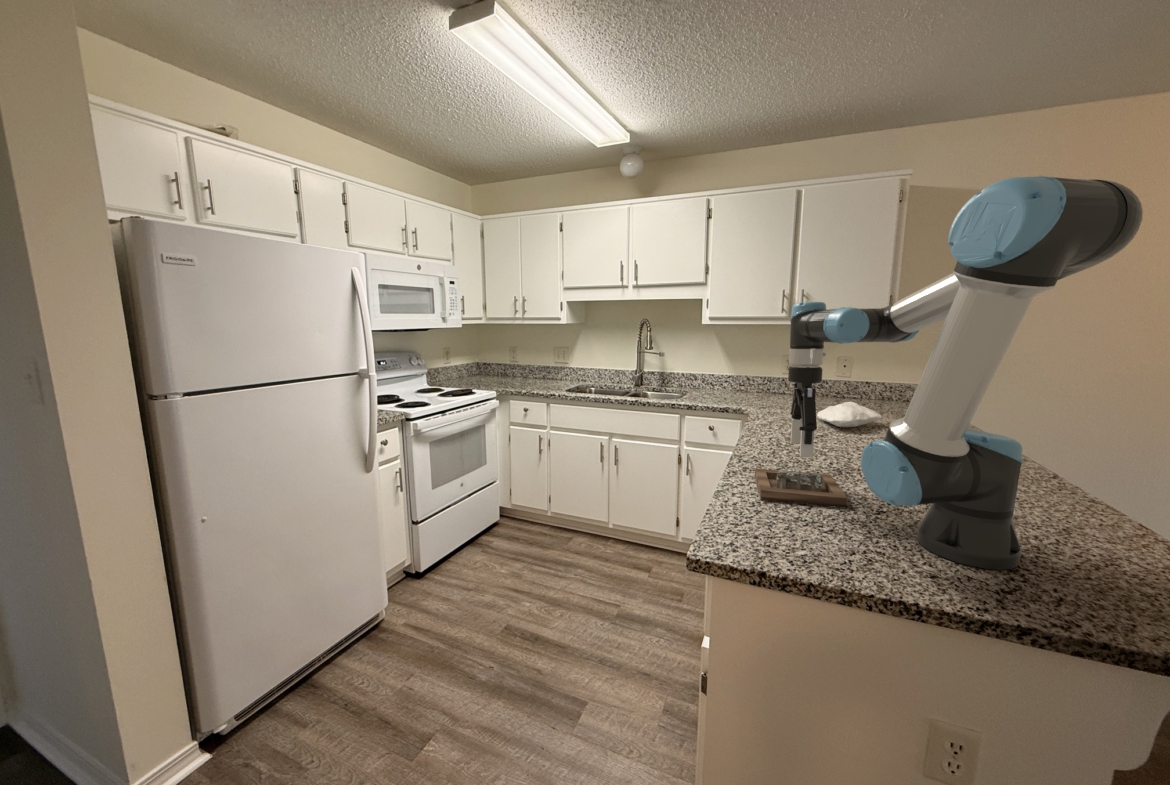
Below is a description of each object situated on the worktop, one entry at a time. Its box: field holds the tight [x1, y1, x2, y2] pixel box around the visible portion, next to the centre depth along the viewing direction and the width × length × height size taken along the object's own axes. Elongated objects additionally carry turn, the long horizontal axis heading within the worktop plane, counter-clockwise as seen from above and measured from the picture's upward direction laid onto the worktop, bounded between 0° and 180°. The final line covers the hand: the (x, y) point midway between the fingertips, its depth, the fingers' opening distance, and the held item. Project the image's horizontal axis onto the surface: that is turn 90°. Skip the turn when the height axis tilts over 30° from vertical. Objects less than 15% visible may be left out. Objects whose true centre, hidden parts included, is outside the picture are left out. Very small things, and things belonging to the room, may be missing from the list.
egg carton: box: [776, 469, 822, 492], centre depth 116 cm, size 11×8×4 cm
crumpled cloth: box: [816, 401, 882, 428], centre depth 189 cm, size 24×35×9 cm
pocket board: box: [754, 468, 849, 509], centre depth 117 cm, size 17×19×2 cm
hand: (801, 450), depth 114 cm, fingers open, 13 cm apart
